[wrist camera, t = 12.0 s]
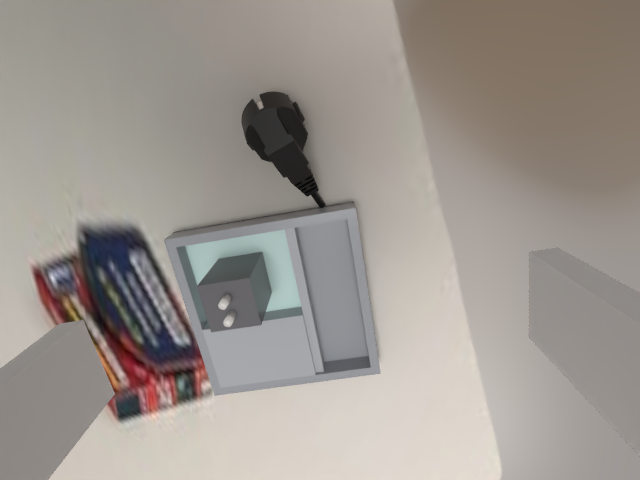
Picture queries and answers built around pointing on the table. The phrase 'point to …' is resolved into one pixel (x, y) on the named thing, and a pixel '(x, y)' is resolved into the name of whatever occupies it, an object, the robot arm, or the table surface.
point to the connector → (236, 292)
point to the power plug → (280, 139)
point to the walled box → (285, 300)
